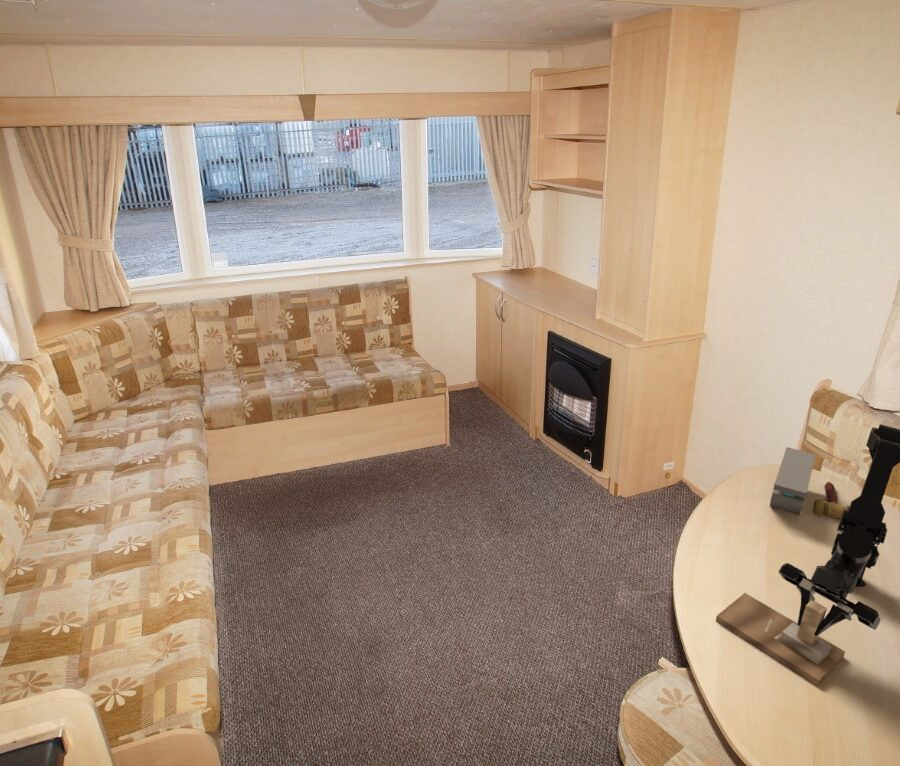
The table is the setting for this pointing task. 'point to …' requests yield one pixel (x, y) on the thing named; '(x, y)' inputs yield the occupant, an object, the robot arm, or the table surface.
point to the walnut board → (774, 637)
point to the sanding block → (808, 634)
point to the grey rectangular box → (792, 481)
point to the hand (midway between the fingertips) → (806, 630)
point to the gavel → (829, 504)
